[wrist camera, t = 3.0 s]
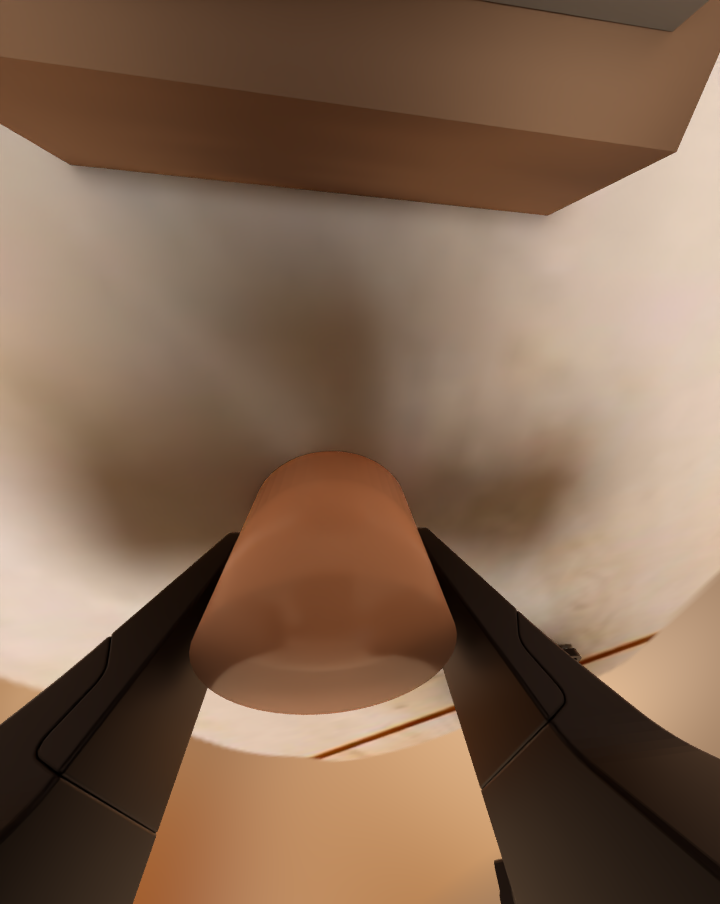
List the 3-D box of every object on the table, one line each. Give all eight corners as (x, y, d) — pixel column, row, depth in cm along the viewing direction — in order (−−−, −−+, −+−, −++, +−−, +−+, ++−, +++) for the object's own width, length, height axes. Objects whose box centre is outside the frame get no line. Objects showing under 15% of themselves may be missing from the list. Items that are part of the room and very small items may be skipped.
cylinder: (416, 451, 8) (488, 567, 4) (396, 565, 11) (431, 703, 7) (242, 450, 8) (147, 582, 4) (264, 570, 10) (221, 724, 6)
